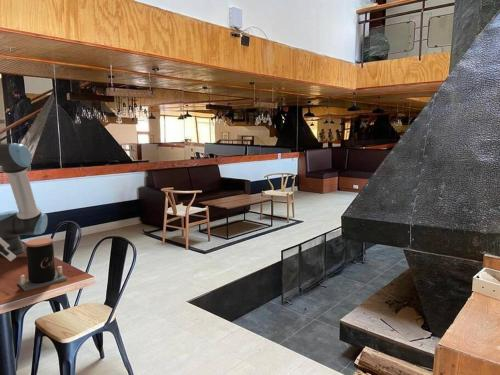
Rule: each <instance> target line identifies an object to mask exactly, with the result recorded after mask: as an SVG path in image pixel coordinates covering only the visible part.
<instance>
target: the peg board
mask: <svg viewBox="0 0 500 375" xmlns="http://www.w3.org/2000/svg"><path fill="white" fill-rule="evenodd" d="M56 270H57V271H55V277H54V279H52V280H51V281H48V282H45V283H31V282H30V281H29V278H27V274H22V275H20V280H18V281H17V285H18V286H20V287H21V289H22V290H24V292H27V291H31V290H35V289H38V288H42V287H45V286H49V285H54V284H57V283H62V282H65V281H68V278H67V276H65V275H64V274H63V266H62V265H59V266H57V267H56Z"/></svg>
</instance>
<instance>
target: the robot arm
mask: <svg viewBox="0 0 500 375" xmlns="http://www.w3.org/2000/svg"><path fill="white" fill-rule="evenodd" d="M31 158H32V153H31V152H30V150H29V148H28V147H27V145H24V143H16V142H11V143H0V167H1V171H2V172H3V173H4V174H7V177H8V181H9V184H10V188H11V191H12V194H13V197H14V199H15V204H16V206H17V210H8V211H4V212H0V258H2V257H3V258H6V259H7V260H8V261H10V262H13V260H15V259H16V258H17V255H19V254H22V253H24V251H25V246H24V244H23V242H22V240H21V238H20V236H22V235H33V236H35V235H36V236H37V235H41V234H43V233H45V231H46V230H47V226H48V215H47V213H44V212H43V213H42V211H41V209H40V207H37V204H36V200H35V197H34V194H33V190H32V186H31V183H30V182H31V181H30V179H29V175H28V169H29V166H31V162H32V159H31Z"/></svg>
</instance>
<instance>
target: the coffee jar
mask: <svg viewBox="0 0 500 375" xmlns="http://www.w3.org/2000/svg"><path fill="white" fill-rule="evenodd" d="M53 243H54V240H53V238H50V237H40V238H34V239H29V240H28V241H26V242H25V245H26V247H25V251H26V265H27V274H28V275H27V277H28V278H27V279H29V281H30V282H31V283H45V282H48V281H51V280H52V279H54V277H55V272H56V265H55V264H56V263H55V249H54V244H53Z"/></svg>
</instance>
